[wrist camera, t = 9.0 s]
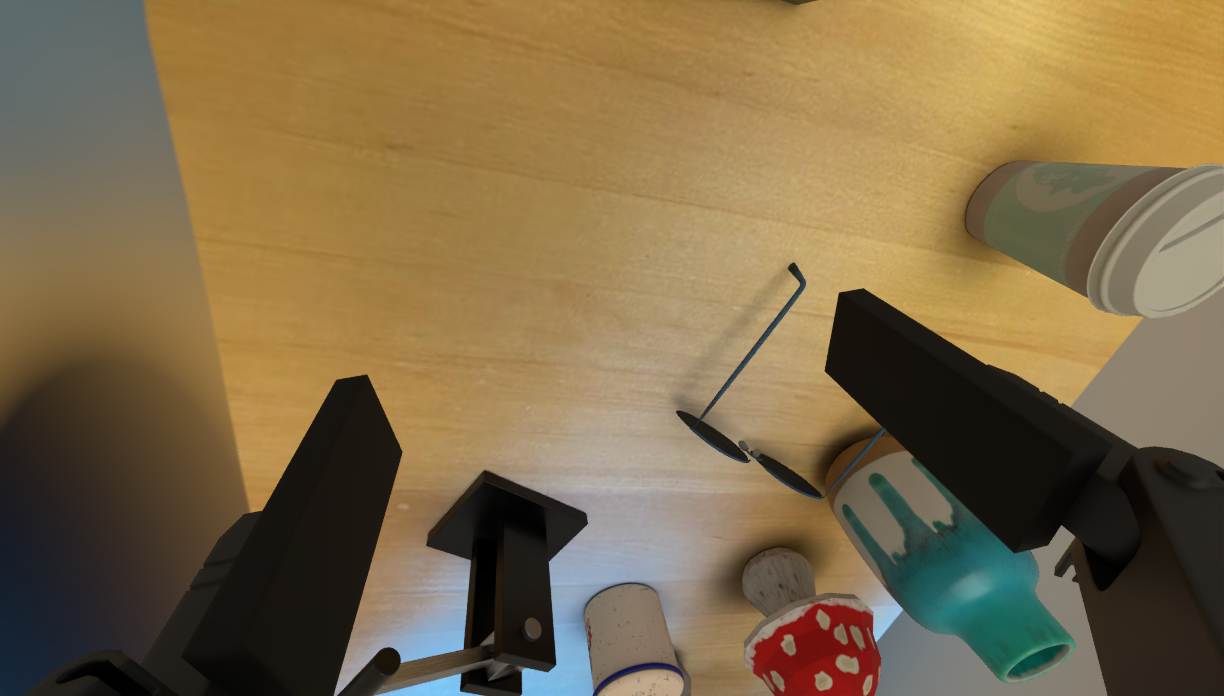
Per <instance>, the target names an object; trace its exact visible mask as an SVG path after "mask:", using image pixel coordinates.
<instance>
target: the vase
mask: <svg viewBox="0 0 1224 696" xmlns="http://www.w3.org/2000/svg"><path fill="white" fill-rule="evenodd" d="M872 438H873V437H872ZM872 438H868V439H865V440H862V441H859V442H857V443H855V444H853V445H851V446H850V447H848V448H847V449H845V450H844V451H843V452H842V453H841V454H840V455H839V456H838V457H837V458H836V459H835V461H834V462H833V463H832V465H831V467H830V469H829V471H828V474H827V478H826V493H827V492H828V490H829V489H830V488H831V486H832V485H833V484H834V483H835V481H836V480H837V479H838V478H839V476H840V475H841V474H842V473H843V472H844V471H845V469H846V468H847V467H848V466H849V465H850V464H851V462H852V461H853V460H854V459H855V458H856V457H857V455H858V454H859V453H860V452H861V451H862V450H863V449H864V447H865V446H866V445H867V444H868V443H869V442H870V441H871V439H872ZM827 498H828V502H829V504H830V507H831V509H832V511H833V513H834V515H835V516H836V518H837V520H838V522H839V523H840V525H841V527H842V528H843V530H844V532H845V533H846V535H847V536H848V538H849V539H850V541H851V542H852V544H853V545H854V547H855V548H856V550H857V551H858V553H859V554H860V555H861V557H862V558H863V560H864V561H865V562H866V564H867V565H868V566H869V568H870V569H871V570H872V572H873V573H874V574H875V576H876V577H877V578H878V580H879V581H880V582H881V583H882V585H883V586H884V587H885V589H886V590H887V591H888V592H889V593H890V595H891V596H892V597H893V598H894V599H895V601H896V602H897V603H898V604H899V605H900V606H901V607H902V608H903V609H904V610H905V611H906V612H907V613H908V614H909V616H911V618H912V619H914V620H915V621H916V622H917V623H918V624H920V625H921V626H923V627H924V628H926V629H928V630H930V631H933V632H935V633H939V634H948V635H956V636H958V637H959V638H961V639H962V640H963V641H965V642H966V643H967V644H968V645H969V646H970V647H971V648H972V649H973V651H974V652H975V653H976V654H977V655H978V656H979V657H980V658H981V660H982V661H983V662H984V663H985V664H986V665H987V666H988V668H989V669H990V670H991V671H992V672H993V673H994V675H995V676H996V677H997V678H998V679H999V680H1001V681H1002V682H1004V683H1011V684H1012V683H1020V682H1024V681H1027V680H1030V679H1033V678H1036V677H1038V676H1040V675H1043V674H1045V673H1047V672H1049V671H1050V670H1052V669H1054V668H1056V667H1057V666H1059V665H1060V664H1062V663H1063V662H1064V661H1065V660H1067V659H1068V658H1069V657H1070V656H1071V655H1072V653H1073V652H1074V651H1075V648H1076V643H1075V641H1074V639H1073V638H1072V637H1071V636H1070V634H1069V633H1068V632H1067V631H1066V630H1065V629H1064V628H1063V627H1062V626H1061V625H1060V623H1059V622H1058V621H1057V620H1056V619H1055V618H1054V617H1053V616H1052V614H1051V613H1050V612H1049V611H1048V610H1047V609H1046V608H1045V606H1044V605H1043V604H1042V603H1041V602H1040V600H1039V599H1038V597H1037V595H1036V593H1035V588H1036V585H1037V582H1038V579H1039V568H1038V564H1037V562H1036V560H1035V558H1034V556H1033V554H1032V552H1031V551H1030V550H1027V551H1023V552H1019V553H1015V554H1014V553H1013V552H1012V551H1011V550H1010V549H1009V548H1008V547H1007V546H1006V545H1005V544H1004V543H1002V542H1001V541H1000V540H999V539H998V538H997V537H996V536H995V535H994V534H993V533H992V532H991V531H990V530H989V529H988V528H987V527H986V526H985V525H984V524H983V523H982V522H981V521H980V520H979V519H978V518H977V517H976V516H974V515H973V514H972V513H971V512H970V511H969V510H968V509H967V508H966V507H965V506H964V505H963V504H962V503H961V502H960V501H959V500H958V499H957V498H956V497H955V496H954V495H953V494H952V493H951V492H950V491H949V490H948V489H946V488H945V487H944V486H943V485H942V484H941V483H940V482H939V481H938V480H937V479H936V478H935V477H934V476H933V475H932V474H931V473H930V472H929V471H928V470H927V469H926V468H925V467H924V466H923V465H922V464H921V463H920V462H918V461H917V460H916V459H915V458H914V457H913V456H912V455H911V454H910V453H909V452H908V451H907V450H906V449H905V448H904V447H903V446H902V445H901V444H900V443H899V442H898V441H897V440H896V439H895V438H894V437H888V436H880V437H879V439H878V440H877V441H876V442H875V443H874V444H873V445H872V446H871V448H870V449H869V450H868V451H867V452H866V453H865V454H864V455H863V456H862V458H861V459H860V460H859V461H858V462H857V463H856V464H855V465H854V466H853V468H852V469H851V470H850V471H849V472H848V473H847V474H846V475H845V476H844V477H843V478H842V480H841V481H840V482H839V483H838V484H837V485H836V486H835V487H834V488H833V489H832V490H831V491H830V492H829V493H827Z"/></svg>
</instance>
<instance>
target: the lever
mask: <svg viewBox="0 0 1224 696" xmlns="http://www.w3.org/2000/svg"><path fill="white" fill-rule="evenodd" d="M493 658H494V632H493V633H492V634H490V635H489V636H488V637H487V638H486V639H485V640H484V641H483V642H482V643H481V644H480V646H478V647H474V648H469V649H464V650H460V651H455V652H450V653H446V654H441V655H436V656H432V657H427V658H422V659H418V660H413V661H408V662H404V663H400V662H401V658H400V655H399V653H398V652H397V651H396V650H395V649H393V648H390V647H388V648H383V649H382V650H380V651H379V652H378V653H377V654H376V655H375V656H374V657H373V658H372V659H371V660H370V661H369V663H368V664H367V665H366V666H365V667H364V668H363V669H362V670H361V671H360V672H359V673H358V674H357V675H356V676H355V677H354V678H353V680H352V681H351V682H350V683H349V684H348V685H347V686H346V687H345V688H344V689H343V690H342V691H341V692H340V693H339V694H338V695H337V696H374V695H378V694H382V693H386V692H390V691H394V690H398V689H402V688H406V687H410V686H414V685H417V684H421V683H425V682H429V681H433V680H437V679H441V678H445V677H449V676H453V675H457V674H460V673H464V672H468V671H472V670H476V669H480V668H484V667H485V669H486V673H487V677H488V681H490V680H494V679H498V678H501V677H505V676H508V675H512V674H515V673H519V672H521V671H522V670H523V669H524V668H525V667H521V666H516V665H511V664H507V663H502V662H498V661H494V660H493Z"/></svg>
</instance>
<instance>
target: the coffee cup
mask: <svg viewBox="0 0 1224 696" xmlns="http://www.w3.org/2000/svg"><path fill="white" fill-rule="evenodd" d="M966 227H967V230H968V232H969V233H970V235H971V236H972V237H974V238H976V239H978V240H979V241H981V242H983V243H985V244H987V245H989V246H990V247H992V248H994V249H996V250H998V251H1000V252H1002V253H1004V254H1005V255H1007V256H1009V257H1011V258H1013V259H1015V260H1017V261H1019V262H1021V263H1023V264H1024V265H1026V266H1028V267H1030V268H1032V269H1034V270H1036V271H1038V272H1040V273H1041V274H1043V275H1045V276H1047V277H1049V278H1051V279H1053V280H1055V281H1057V282H1059V283H1060V284H1062V285H1064V286H1066V287H1068V288H1070V289H1072V290H1074V291H1076V292H1078V293H1080V294H1081V295H1083V296H1085V297H1087V298H1089V300H1090V302H1091V303H1092V305H1093V306H1094V307H1095V308H1097V309H1098V310H1100V311H1103V312H1108V313H1113V314H1116V315H1121V316H1134V315H1135V316H1141V317H1147V318H1164V317H1169V316H1172V315H1175V314H1178V313H1181V312H1184V311H1186V310H1188V309H1190V308H1192V307H1194V306H1196V305H1197V304H1199V303H1201V302H1202V301H1203V300H1206V299H1207V298H1209V297H1210V296H1212V295H1213V294H1214V293H1216V292H1217V291H1218V290H1220V289H1221V288H1222V287H1223V286H1224V165H1221V164H1204V165H1199V166H1195V167H1192V168H1171V167H1150V166H1128V165H1106V164H1084V163H1062V162H1038V161H1015V162H1011V163H1008V164H1006V165H1004V166H1002V167H1000V168H998V169H997V170H995V171H994V172H993V173H991V174H990V175H989V176H988V177H987V178H986V179H985V180H984V181H983V182H982V183H981V184H980V186H979V187H978V188H977V190H976V191H975V193H974V194H973V196H972V198H971V200H970V202H969V205H968V208H967V212H966Z"/></svg>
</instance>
